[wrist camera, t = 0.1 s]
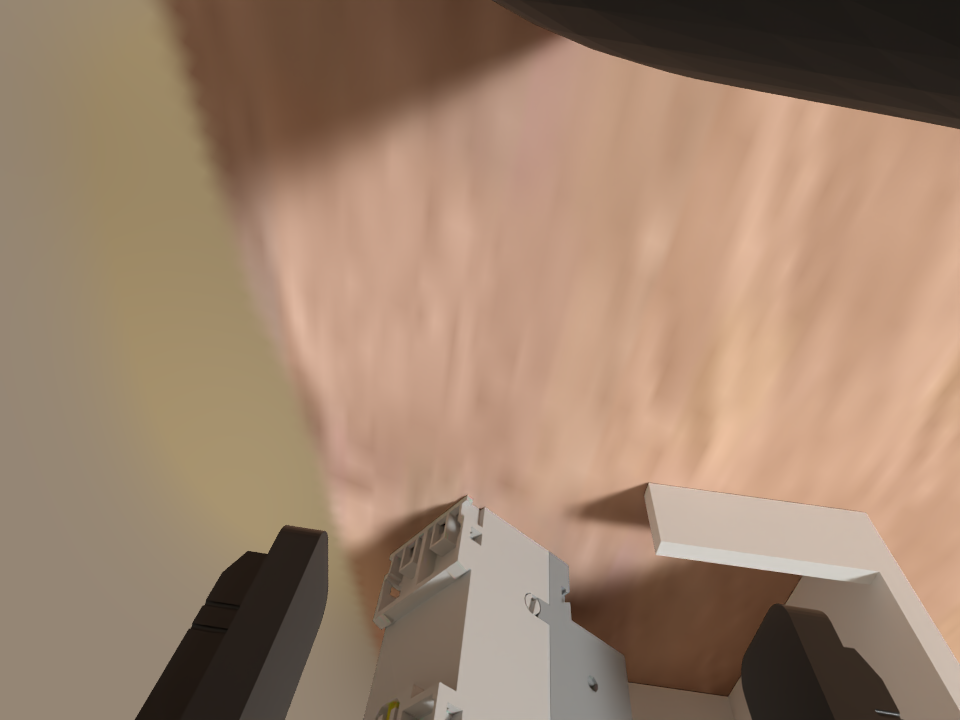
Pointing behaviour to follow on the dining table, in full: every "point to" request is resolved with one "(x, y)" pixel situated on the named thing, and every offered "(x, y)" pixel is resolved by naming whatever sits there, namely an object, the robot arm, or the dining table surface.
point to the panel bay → (807, 594)
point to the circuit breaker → (487, 631)
